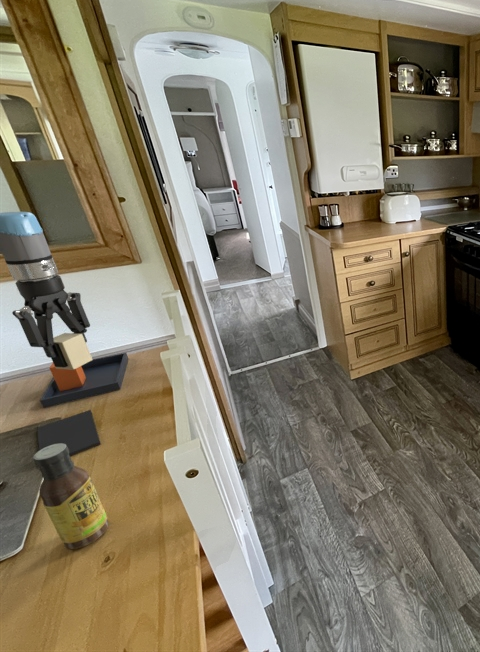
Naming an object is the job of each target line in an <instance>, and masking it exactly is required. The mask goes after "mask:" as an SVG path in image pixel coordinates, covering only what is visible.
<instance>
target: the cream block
mask: <svg viewBox="0 0 480 652" xmlns="http://www.w3.org/2000/svg"><path fill="white" fill-rule="evenodd" d="M53 339H54V344H59V346H60V349H61V351H62V353H63V356H64V358H65V360H66V362H67V365H68V366H67V367H56V369H71V370H74V369H76V368H78V367H80V366H82V365H84V364H86V363H88V362H90V361H92V359H93V357H92V354H91V353H90V350H89V347H88V345H87V342H85V340H84V337H83V335H82V334H74V332H64V333H61V334H59V335H56V336H53Z"/></svg>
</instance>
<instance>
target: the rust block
mask: <svg viewBox="0 0 480 652" xmlns="http://www.w3.org/2000/svg"><path fill="white" fill-rule="evenodd" d="M49 366H50V367H49V371H50V373H51V375H52V378H53V377H54V379H55V382H56V384H57V386H58V388H59V390H60V391H64V390H68V389H72V388H77V387H81V386H83V385H84V382H85V380H86V376H85V374H84V372H83V369H82V367H81V366H80V367H78V368H76V369H74V370H71V369H56V367H55V365H54V363H53V362H52V363H51V365H49Z"/></svg>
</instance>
